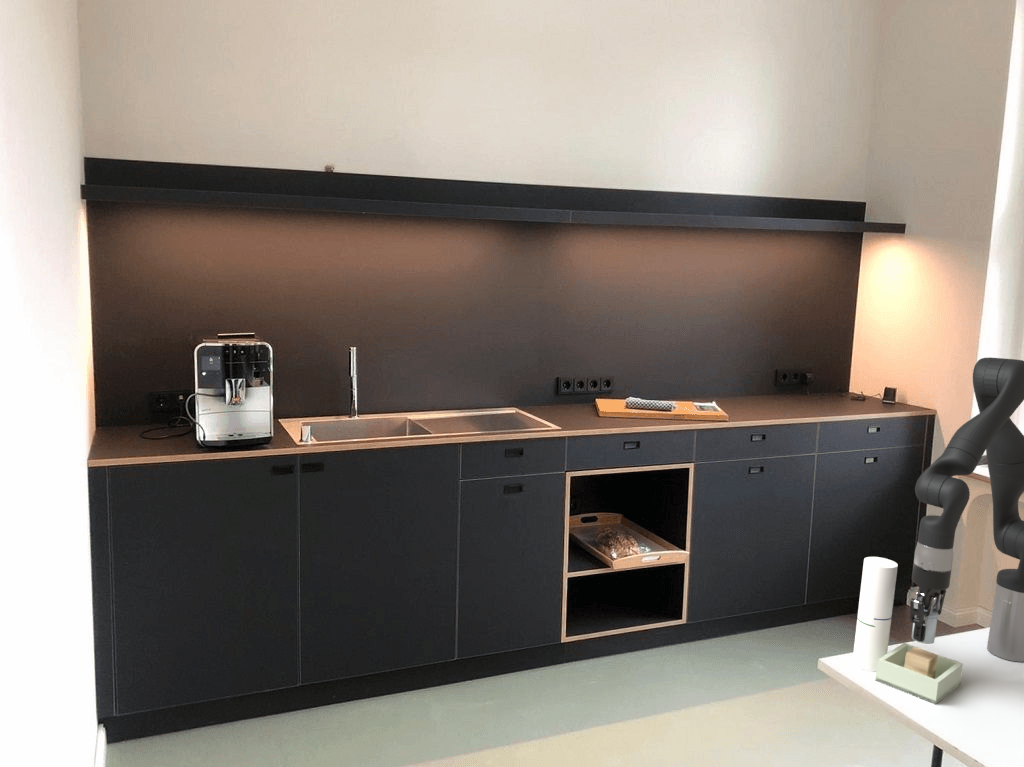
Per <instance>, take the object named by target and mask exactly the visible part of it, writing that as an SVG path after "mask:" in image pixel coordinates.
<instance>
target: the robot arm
mask: <svg viewBox="0 0 1024 767" xmlns="http://www.w3.org/2000/svg"><path fill="white" fill-rule="evenodd" d="M972 386H973V392H974V394H975V401H976V403H977V404H976V405H977V408H978V411H979V412H978V413H977V415H976V416H974V417H971V418H970V419H968V421H966V422H965V423H964V424H962V425H960V427H959V428H958V429H957V430H956V431H955V433H953V435H952V436H951V438H950V441H948V444H947V445H946V447H945V449H944V451H943V452H942V454H941V455H940V456H938V458H936V460H935V461H933V463H932V464H930V466H928V467H927V468H926V469H924V471H923V472H922V473H921V474H920V476H919V477H918V478H917V481H916V483H915V486H914V491H915V492H914V493H915V496H916V498H917V500H918V501H919V502H921V503H923V504H925V505H930V506H933V507H936V508H941V509H943V511H942V513H941V515H935V514H934V515H933V514H932V515H930V514H929V515H925V516H923V517H922V518H921V519H920V523H919V528H918V535H917V543H916V547H915V550H914V557H913V558H914V559H913V566H912V573H911V574H912V575H911V580H912V582H913V583H914V584H916V586H917V587H918V590H917V592H916V593H915V598H913V597H912V598H910V600H909V602H910V603H909V604H910V606H909V617H910V618H909V622H910V623H912V624H913V623H915V625H914V633H913V639H915V640H917V641H920V642H923V641H924V639H925V632H926V625H927V620H928V617H929V616H931V614H932V610H934V611H937V612H938V617H939V615H940V616H941V614H942V611H943V606H944V602H945V596H946V593H947V589H949V587H950V583H951V576H952V569H953V560H954V545H955V544H954V543H955V535H956V530H957V527H958V525H959V522H960V520H961V518H962V516H963V513H964V511H965V509H966V507H967V505H968V503H969V500H970V496H971V494H970V493H971V492H970V488H969V486H968V483H966V481H964V480H963V479H961V478H956V476H959V477H960V476H962V477H963V476H969V475H971V474H972V473H974V471H975V469H976V468H977V466H978V465H979V462H980V461H981V459H982V458H983V456H984V455H986V460H987V461H986V464H987V468H988V474H989V479H990V480H989V481H990V488H991V499H992V526H993V527H992V528H993V530H992V534H993V541H994V544H995V547H996V549H997V550H998V551H999V552H1001V553H1002V554H1004V555H1006V556H1008V557H1012V558H1014V559H1016V560H1019V562H1018V567H1017V568H1003V569H1001V570H999V571H998V572H997V574H996V582H995V588H994V595H993V602H992V610H991V618H990V624H989V625H990V626H989V632H988V638H987V645H986V647H987V648H986V649H987V651H988V653H990V654H992V655H994V656H996V657H997V658H1000V659H1004V660H1006V661H1007V660H1008V661H1010V662H1011V661H1012V662H1018V663H1019V662H1024V519H1022V518H1021V516H1020V512H1019V500H1020V497H1022V494H1023V493H1024V434H1023V433H1022V432H1021V430H1020V429H1019V428H1018V427H1017V425H1016V424H1015V422H1013V420H1012V418H1011V416H1012V415H1013V414H1014V413H1015V411H1016V410H1017V409H1018V408H1019V407H1020V405H1021V404H1022V403H1023V402H1024V360H1022V359H1014V358H1002V357H983V358H979V360H977V361H976V363H975V364H974V367H973V370H972ZM985 453H986V454H985ZM924 609H925V610H928V611H927V612H926V611H924ZM918 617H919V619H918ZM938 617H937V619H938ZM913 639H912V640H913ZM915 640H914V641H915ZM917 641H916V642H917ZM920 642H919V643H920Z"/></svg>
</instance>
